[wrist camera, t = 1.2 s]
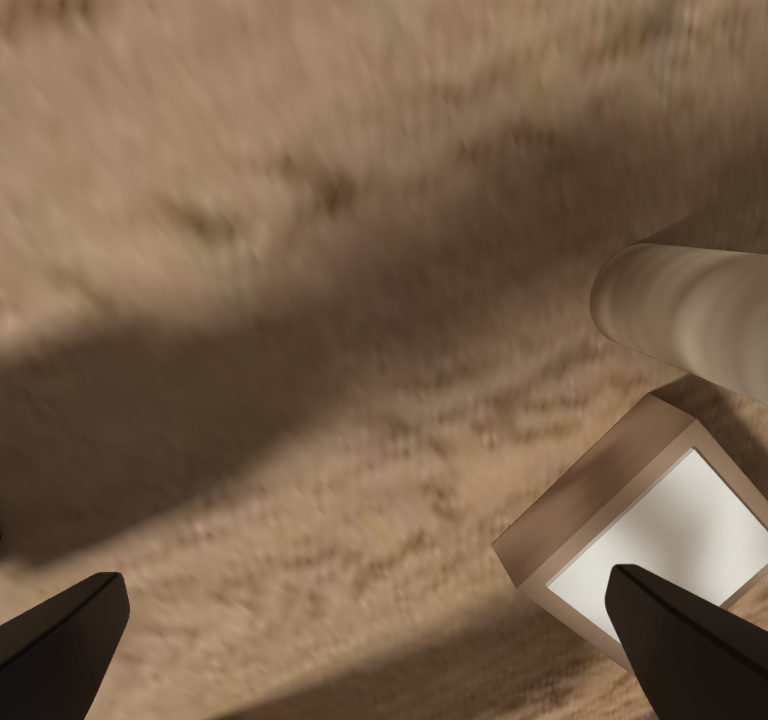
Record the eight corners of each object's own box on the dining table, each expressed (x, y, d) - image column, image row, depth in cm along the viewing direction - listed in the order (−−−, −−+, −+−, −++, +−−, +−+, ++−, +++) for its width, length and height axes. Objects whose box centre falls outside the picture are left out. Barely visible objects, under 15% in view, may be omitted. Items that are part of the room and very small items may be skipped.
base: (609, 635, 28) (646, 686, 25) (491, 544, 24) (518, 592, 21) (750, 507, 27) (807, 545, 24) (648, 393, 23) (700, 420, 20)
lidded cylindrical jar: (626, 365, 22) (904, 497, 12) (567, 298, 21) (830, 386, 11) (702, 290, 22) (1059, 363, 12) (647, 217, 20) (1004, 225, 10)
